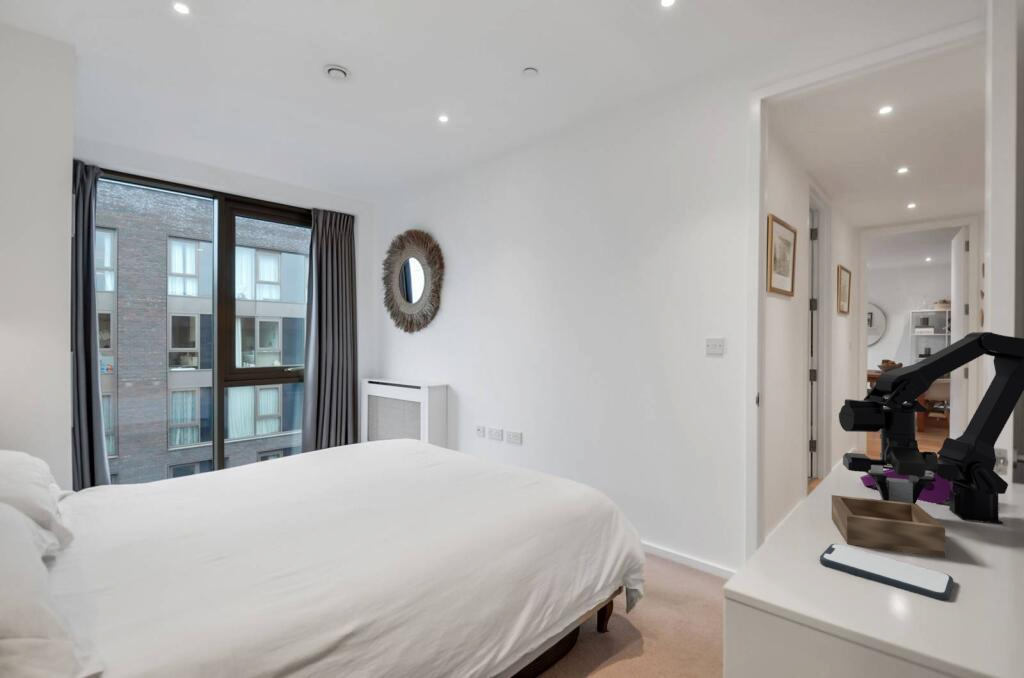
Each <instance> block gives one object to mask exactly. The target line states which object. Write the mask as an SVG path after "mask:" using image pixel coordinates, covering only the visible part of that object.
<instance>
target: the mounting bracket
mask: <svg viewBox="0 0 1024 678" xmlns="http://www.w3.org/2000/svg"><path fill="white" fill-rule="evenodd" d="M883 473H884V474H885V475H887V478H896V479H907V480H909V475H905V476H902V475H898V474H896V473H895V472H894V469H883ZM934 478H935V479H937V480H936V482H930V483H928V484H927V485H926V486H925V487H924V488H923V490H922V491H921V493H920V495H919V497H918V499H917V500H919V501H920V502H921V501H922V502H925V503H931V504H934V503H936V504H941V503H944V502H945V501H947V500H950V491H953V482H949V481H947V479H942V478H940V477H939V476H938V475H937V474H936V473H934ZM859 479H860V480H861V481H862V484H863V485H864V487H867V486H874V485H875V486H876V484H875V482H874V480H873V478H872V476H869V475H868V474H864V475H862V476H860V477H859ZM955 484H956V483H955ZM936 504H935V505H936Z"/></svg>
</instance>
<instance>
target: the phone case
mask: <svg viewBox="0 0 1024 678" xmlns="http://www.w3.org/2000/svg"><path fill="white" fill-rule="evenodd" d="M819 563H820V565H821V566H823V567H826V568H828V569H832V570H835V571H839V572H841V573H845V574H849V575H853V576H855V577H859V578H863V579H866V580H870V581H872V582H876V583H879V584H883V585H887V586H890V587H893V588H896V589H900V590H904V591H907V592H911V593H913V594H917V595H921V596H924V597H926V598H931V599H934V600H938V601H945V602H946V601H949V599H950V596H951V594H952V589H953V586H954V578H953V577H952V576H951V575H949V574H946V573H944V572H941V571H938V570H933V569H930V568H925V567H923V566H918V565H916V564H912V563H907V562H904V561H901V560H898V559H894V558H890V557H886V556H884V555H879V554H875V553H872V552H868V551H865V550H861V549H857V548H854V547H849V546H847V545H843V544H838V543H832V544H830V545H829V546H828V547H827V548H826V550H824V551H823V553H821V554H820V556H819Z"/></svg>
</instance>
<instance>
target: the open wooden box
mask: <svg viewBox="0 0 1024 678" xmlns="http://www.w3.org/2000/svg"><path fill="white" fill-rule="evenodd" d="M831 521H832V522H833V524H834V525H835V526H836V528H837V530H838V532H839V533H840V535H841V536H842V539H844V541H845V543H846V544H847V545H853V546H860V547H866V548H867V547H868V548H874V549H883V550H888V551H896V552H897V551H898V552H903V553H904V552H905V553H911V554H917V555H925V556H932V557H941V558H946V527H945V526H944V525H942V524H941V523H940V522H939V521H938V520H936V519H935V518H934V517H933V516H931V514H929V512H927V511H926V510H925V509H923V508H922V507H921V506H920V505H919V504H917V503H916V504H914V503H904V502H895V501H885V500H882V499H881V500H880V499H875V498H874V499H873V498H864V497H855V496H854V497H853V496H845V495H834V494H831Z"/></svg>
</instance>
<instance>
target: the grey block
mask: <svg viewBox="0 0 1024 678" xmlns="http://www.w3.org/2000/svg"><path fill="white" fill-rule="evenodd" d="M886 486H887V494H888V501H895V502H904V503H913V483H911V482H910V481H909V480H907V479H896V478H887V479H886ZM879 500H882V498H881V499H879Z"/></svg>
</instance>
